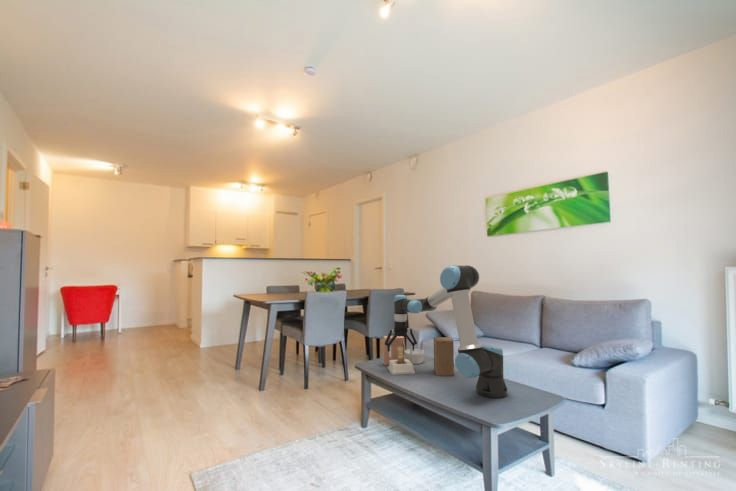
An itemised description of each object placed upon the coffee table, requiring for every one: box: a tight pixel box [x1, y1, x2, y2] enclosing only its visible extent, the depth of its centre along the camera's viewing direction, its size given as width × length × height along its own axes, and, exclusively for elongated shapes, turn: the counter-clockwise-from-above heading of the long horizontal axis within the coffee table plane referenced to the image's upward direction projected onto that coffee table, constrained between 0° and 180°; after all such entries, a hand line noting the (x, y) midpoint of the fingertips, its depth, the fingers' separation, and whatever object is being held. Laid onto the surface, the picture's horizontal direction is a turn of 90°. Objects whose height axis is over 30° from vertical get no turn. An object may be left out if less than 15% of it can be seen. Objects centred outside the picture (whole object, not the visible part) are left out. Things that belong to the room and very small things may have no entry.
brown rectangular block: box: [383, 335, 405, 366], centre depth 228 cm, size 7×12×18 cm, turn 97°
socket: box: [387, 358, 416, 376], centre depth 217 cm, size 14×14×5 cm
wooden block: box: [433, 336, 455, 377], centre depth 212 cm, size 10×10×20 cm
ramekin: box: [404, 348, 425, 365], centre depth 236 cm, size 13×13×7 cm
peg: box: [397, 345, 405, 364], centre depth 217 cm, size 4×4×14 cm
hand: (400, 356), depth 217 cm, fingers open, 12 cm apart
